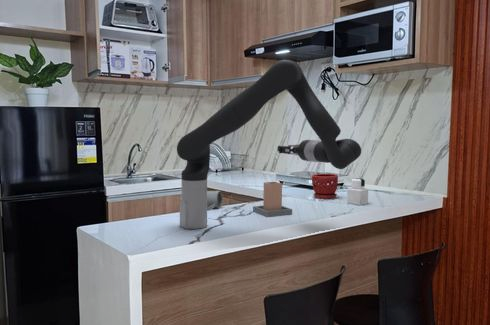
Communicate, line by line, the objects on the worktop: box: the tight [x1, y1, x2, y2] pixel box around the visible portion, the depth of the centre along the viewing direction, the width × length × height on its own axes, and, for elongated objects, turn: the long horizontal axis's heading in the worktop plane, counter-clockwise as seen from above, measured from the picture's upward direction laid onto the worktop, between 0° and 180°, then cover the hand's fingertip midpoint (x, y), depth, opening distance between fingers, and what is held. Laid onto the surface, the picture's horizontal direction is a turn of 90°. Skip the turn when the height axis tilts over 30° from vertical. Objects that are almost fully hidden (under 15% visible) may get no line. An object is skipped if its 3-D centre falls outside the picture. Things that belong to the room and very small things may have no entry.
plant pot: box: [311, 173, 339, 200], centre depth 219 cm, size 13×13×12 cm
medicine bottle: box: [346, 178, 369, 206], centre depth 203 cm, size 7×7×12 cm
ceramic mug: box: [207, 190, 223, 211], centre depth 189 cm, size 11×8×8 cm
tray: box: [252, 205, 293, 218], centre depth 180 cm, size 12×12×2 cm
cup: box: [262, 181, 283, 211], centre depth 179 cm, size 6×6×12 cm
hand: (287, 148), depth 164 cm, fingers open, 8 cm apart
